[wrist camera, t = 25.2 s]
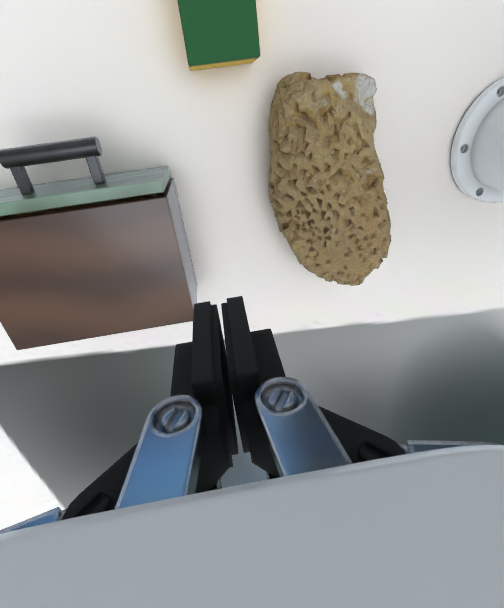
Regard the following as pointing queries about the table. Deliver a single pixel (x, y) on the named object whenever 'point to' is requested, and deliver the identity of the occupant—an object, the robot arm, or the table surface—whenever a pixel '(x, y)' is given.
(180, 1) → the dish sponge
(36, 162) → the drawer
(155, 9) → the table surface
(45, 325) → the drawer unit
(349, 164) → the sponge
